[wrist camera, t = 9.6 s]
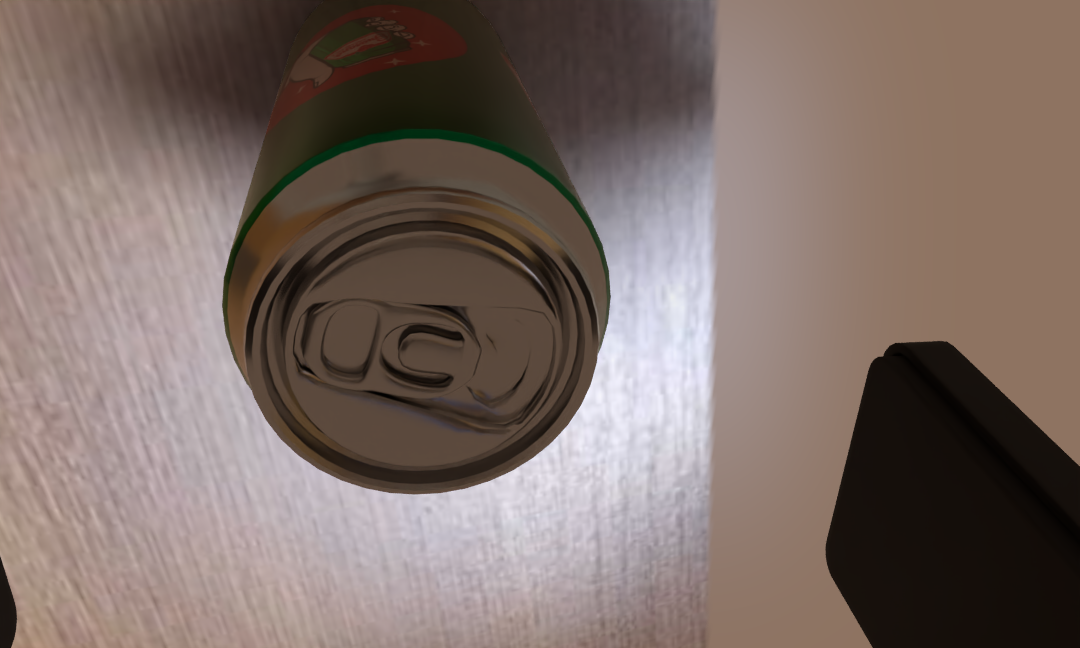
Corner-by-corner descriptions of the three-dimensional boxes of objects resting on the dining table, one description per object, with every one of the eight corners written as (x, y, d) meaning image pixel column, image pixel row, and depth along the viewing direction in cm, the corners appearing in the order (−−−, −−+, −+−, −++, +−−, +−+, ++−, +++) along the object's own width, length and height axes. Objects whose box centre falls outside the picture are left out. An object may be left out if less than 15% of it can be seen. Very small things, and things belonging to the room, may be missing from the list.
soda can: (477, 207, 24) (562, 538, 13) (270, 162, 22) (184, 493, 12) (535, 5, 21) (688, 213, 11) (308, -59, 20) (242, 112, 10)
